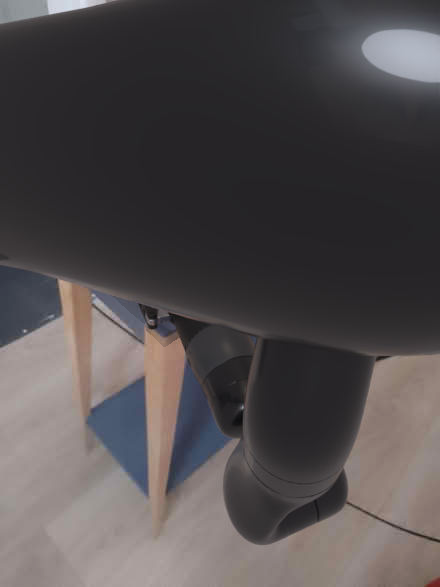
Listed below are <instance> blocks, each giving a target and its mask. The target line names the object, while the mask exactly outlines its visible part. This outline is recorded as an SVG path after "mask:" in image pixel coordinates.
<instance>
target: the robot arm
mask: <svg viewBox="0 0 440 587" xmlns="http://www.w3.org/2000/svg"><path fill="white" fill-rule="evenodd" d="M0 266H4V267H9V268H14V269H17V270H23V271H27V272H31V273H35V274H38V275H42V276H45V277H48V278H53V279H55V280H59V281H63V282H66V283H69V284H72V285H76V286H80V287H83V288H86V289H90V290H92V291H96V292H100V293H103V294H107V295H109V296H113V297H115V298H120V299H124V300H127V301H130V302H133V303H136V304H138V307H139V309H140V312H141V314H142V316H143V319H144V321H145V323H146V326H147V328H148V329H149V330H156V329H157V328H158V325H159V324H161V323H166V322H170V323H171V324H172V325H174V327H175V329H176V332H177V334H178V337H179V340H180V342H181V344H182V348H183V350H184V352H185V355H186V357H187V362H188V365H189V367H190V369H191V370H192V372H193V375H194V377H195V379H196V381H197V383H198V384H199V386H200V387H201V389H202V392H203V394H204V396H205V397H204V398H205V399H206V402H207V404H208V407H209V409H210V412H211V414H212V417H213V419H214V422H215V425H216V427H217V428H218V430H219V432H220V433H221V434H222V435H223V436H225V437H227V438H229V439H233V440H239V441H238V442H237V444H236V446H235V447H234V448H233V450H232V452H231V453H230V455H229V457H228V459H227V461H226V464H225V468H224V472H223V477H222V496H223V501H224V507H225V510H226V513H227V516H228V518H229V521H230V522H231V525H232V527H233V528H234V530H235V531H236V532H237V533H238V534H239V535H240V536H241V537H242V538H243V539H244V540H245V541H247V542H249V543H251V544H253V545H257V546H268V545H272V544H274V543H277V542H280V541H282V540H284V539H286V538H288V537H290V536H292V535H294V534H296V533H299V532H301V531H303V530H305V529H308V528H310V527H312V526H314V525H316V524H318V523H321V522H323V521H325V520H327V519H330V518H331V517H333V516H335V515H336V514H339V513H340V512H342V510H343V509H344V508H345V506H346V505H347V501H348V498H349V483H348V482H349V481H348V477H347V473H346V469H345V468H344V467H345V465H346V463H347V461H348V459H349V457H350V455H351V453H352V451H353V449H354V446H355V444H356V442H357V438H358V435H359V432H360V429H361V424H362V421H363V417H364V414H365V409H366V404H367V400H368V396H369V391H370V386H371V382H372V377H373V374H374V373H373V372H374V369H375V364H376V359H377V357H420V356H423V357H424V356H434V355H440V0H113V1H107V2H103V3H99V4H95V5H91V6H87V7H81V8H77V9H71V10H66V11H60V12H56V13H50V14H45V15H39V16H34V17H29V18H24V19H19V20H12V21H8V22H3V23H0ZM252 337H255V338H256V339H255V344H254V341H253V339H252Z"/></svg>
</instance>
